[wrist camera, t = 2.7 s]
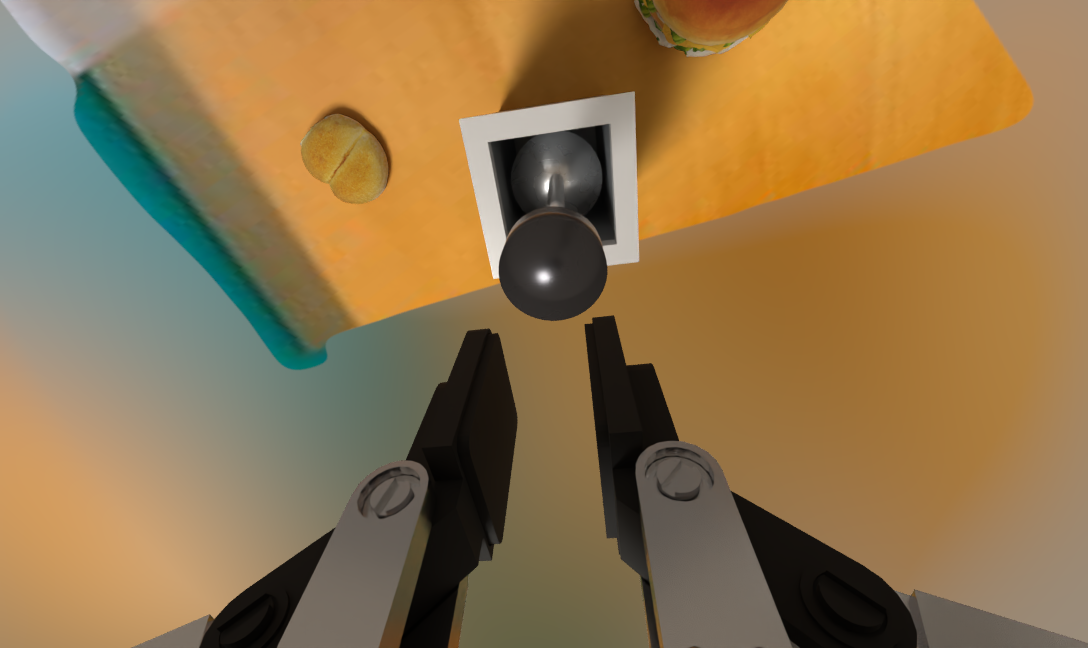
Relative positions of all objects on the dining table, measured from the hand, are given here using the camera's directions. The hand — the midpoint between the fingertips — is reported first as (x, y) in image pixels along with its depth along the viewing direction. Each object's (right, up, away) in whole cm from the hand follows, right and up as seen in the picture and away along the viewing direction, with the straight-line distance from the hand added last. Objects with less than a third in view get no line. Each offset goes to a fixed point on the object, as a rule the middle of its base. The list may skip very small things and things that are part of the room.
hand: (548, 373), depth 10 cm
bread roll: (-22, +20, +35) cm, 46 cm away
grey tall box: (+1, +19, +34) cm, 39 cm away
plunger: (+1, +14, +24) cm, 28 cm away
